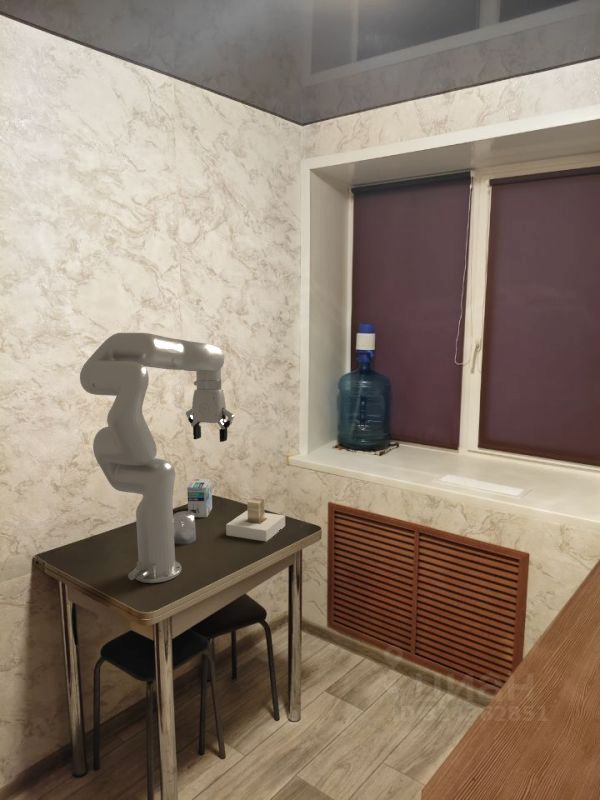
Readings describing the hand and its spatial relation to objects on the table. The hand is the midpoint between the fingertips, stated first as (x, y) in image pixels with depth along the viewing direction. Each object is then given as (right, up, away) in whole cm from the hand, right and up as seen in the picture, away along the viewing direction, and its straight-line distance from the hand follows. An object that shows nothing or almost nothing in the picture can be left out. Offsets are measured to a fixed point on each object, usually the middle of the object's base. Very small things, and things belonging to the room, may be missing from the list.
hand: (210, 439), depth 182 cm
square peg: (+14, -29, +4) cm, 33 cm away
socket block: (+14, -29, +4) cm, 33 cm away
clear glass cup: (-7, -31, -3) cm, 32 cm away
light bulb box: (-7, -27, +22) cm, 35 cm away
